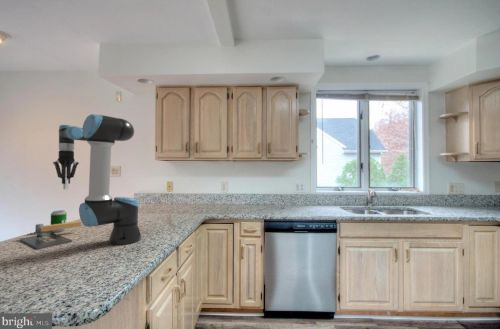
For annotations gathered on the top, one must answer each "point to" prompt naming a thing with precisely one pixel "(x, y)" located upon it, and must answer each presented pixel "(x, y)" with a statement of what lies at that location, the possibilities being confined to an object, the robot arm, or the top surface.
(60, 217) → the soda can
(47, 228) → the bar
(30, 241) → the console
